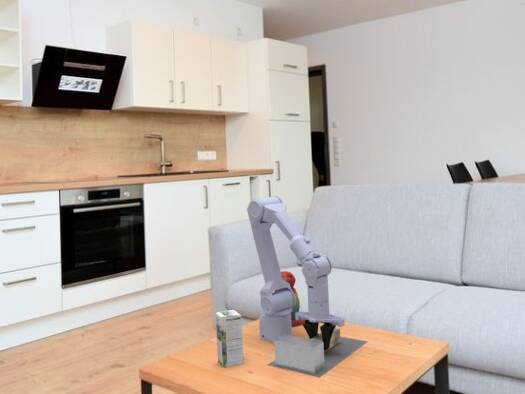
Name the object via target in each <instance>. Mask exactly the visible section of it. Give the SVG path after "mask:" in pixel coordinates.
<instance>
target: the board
mask: <svg viewBox="0 0 525 394" xmlns="http://www.w3.org/2000/svg"><path fill="white" fill-rule="evenodd" d="M320 333H321V332H319V333H318V334H320ZM340 337H341V342H339V343H338V344H336V345H335V346H333V347H332V348H330V349H329V350H328V351H326V352H325V353H324V365H325V367H324V368H323V369H321V370H320V371H319V372H317V373H316V374H311V373H307V372H303V371H299V370H294V369H290V368H286V367H282V366H277V365H275V359H274V360H272V361H271V362H270V363H268V364H267V366H269V367H272V368H278V369H282V370H286V371H289V372H294V373H299V374H303V375H308V376H311V377H315V378H321V377H322V376H324V375H325V374H327V373H328V372H329V371H331V370H332V369H333V368H335V367H336V366H337V365H339V364H340V363H341V362H342V361H344V360H345V359H347V358H348V357H350V355H352V354H353V353H355V352H356V351H358V350H359V349H360V348H361V347H363V346H364V345H365V344H367V343H368V341H367V340H361V339H356V338H352V337H351V338H349V337H345V336H340Z"/></svg>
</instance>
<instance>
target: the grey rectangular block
mask: <svg viewBox="0 0 525 394" xmlns="http://www.w3.org/2000/svg"><path fill="white" fill-rule="evenodd" d="M273 345H274V346H273V347H274V360H275V365H277V366H282V367H286V368H290V369H294V370H299V371H303V372H307V373H311V374H316V373H317V372H319V371H320V370H321V369H323V368H324V367H325V365H324V345H323V342H322V341H316V340H311V339H310V338H305V337H299V336H294V335H292V336H290V335H283V336H281V337H279V338H277V339H275V340H274V343H273Z"/></svg>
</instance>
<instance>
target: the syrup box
mask: <svg viewBox="0 0 525 394" xmlns="http://www.w3.org/2000/svg"><path fill="white" fill-rule="evenodd" d="M215 323H216V327H215V328H216V329H215V330H216V346H217V347H216V349H217V362H218V363H219V364H220V366H222V368H225V369H226V368H229V367H234V366H239V365H242V364H244V345H243V343H244V342H243V327H242V326H243V325H242V314H240V313H239V312H237V310H234V309H231V310H230V309H228V310H222V311H217V312H215Z"/></svg>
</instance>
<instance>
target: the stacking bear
mask: <svg viewBox="0 0 525 394" xmlns="http://www.w3.org/2000/svg"><path fill="white" fill-rule="evenodd" d="M281 275H282V279H283V280H284V281H286V282H288V283H289V284H290V287H291V290H292V291H293V293H294V295H295V298H296V304H295V306H294V307H293V308H292V312H291V325H292V328H293V327H299V326H303V324H304V323H305V320H296V318H295V313H297V312H300V308H301V305H300V298H299V295H298V294H299V293H298V291H297V290H296V288H295V284H296V281H297V280H296V277H295V276H294V274H293V273H292V272H291V271H288V270H287V271H281ZM277 291H279V290H275V291H273V292H277Z"/></svg>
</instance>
